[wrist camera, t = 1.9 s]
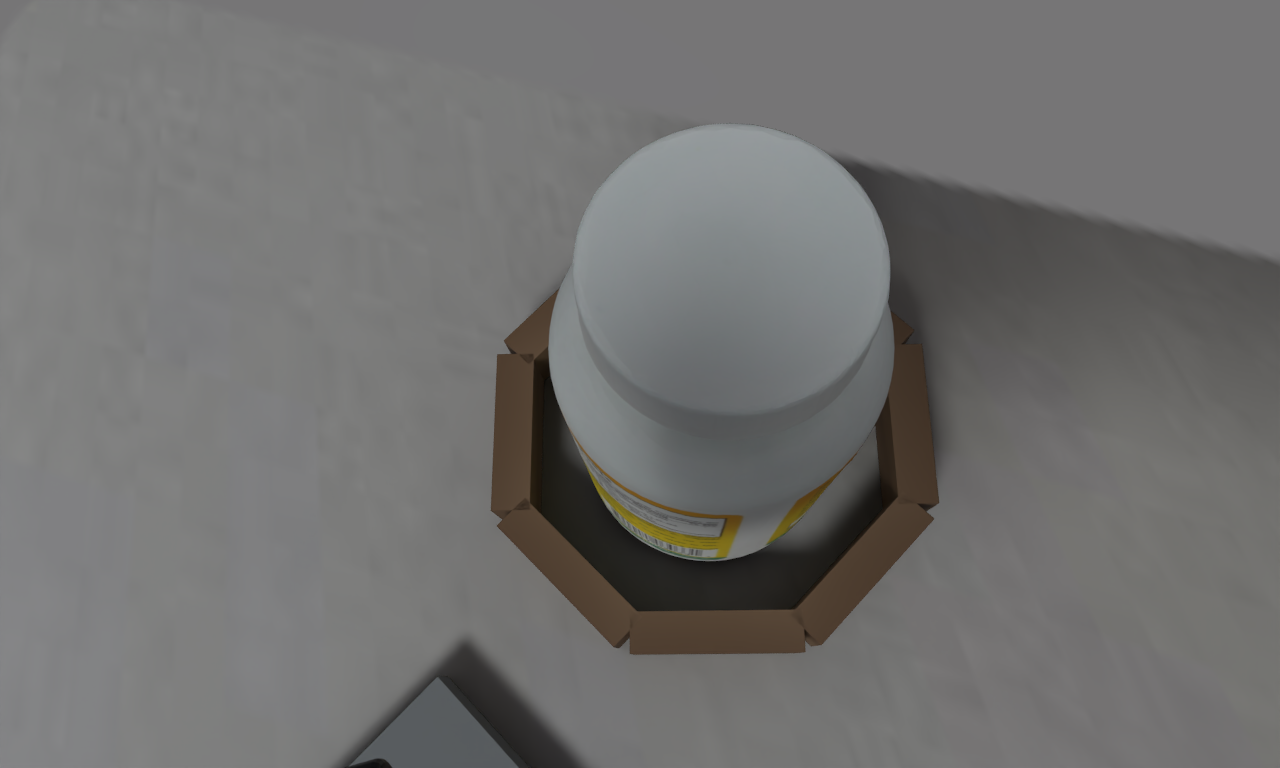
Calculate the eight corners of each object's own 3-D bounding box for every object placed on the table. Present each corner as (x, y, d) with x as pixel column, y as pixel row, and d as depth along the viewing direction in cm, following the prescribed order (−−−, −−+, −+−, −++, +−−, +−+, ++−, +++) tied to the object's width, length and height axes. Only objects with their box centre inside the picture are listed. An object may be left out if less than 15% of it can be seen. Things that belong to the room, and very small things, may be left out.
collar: (999, 437, 20) (1023, 418, 19) (718, 750, 18) (720, 757, 17) (700, 187, 22) (701, 155, 21) (425, 448, 21) (406, 432, 19)
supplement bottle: (622, 592, 19) (565, 527, 10) (564, 365, 21) (470, 134, 12) (861, 525, 20) (1015, 403, 10) (786, 305, 21) (863, 32, 12)
